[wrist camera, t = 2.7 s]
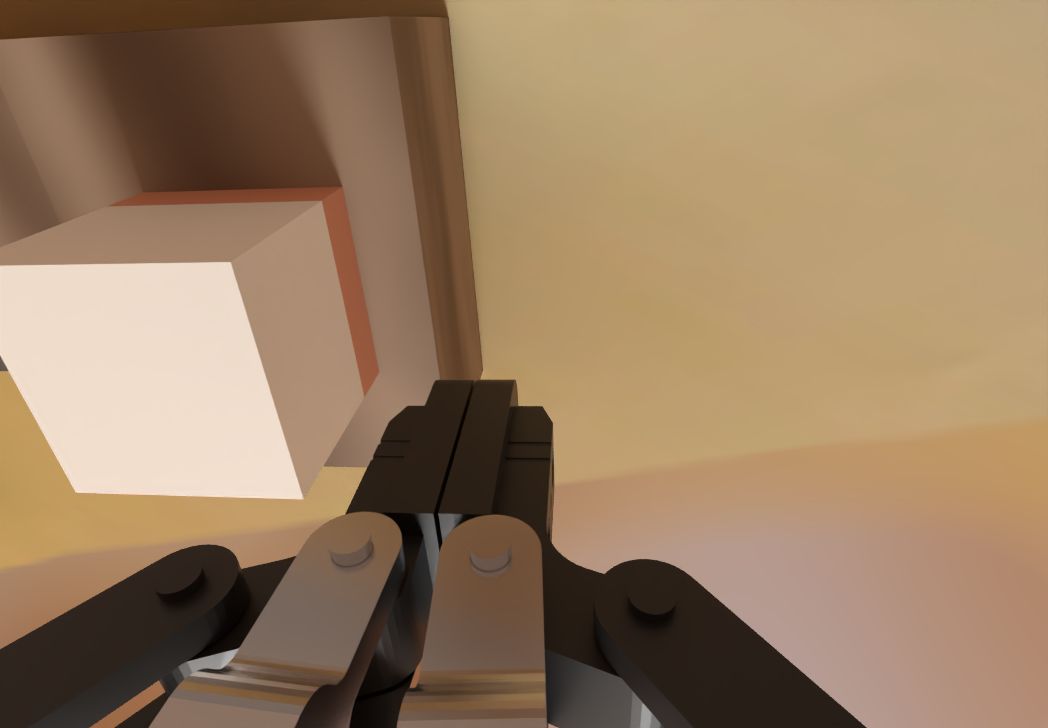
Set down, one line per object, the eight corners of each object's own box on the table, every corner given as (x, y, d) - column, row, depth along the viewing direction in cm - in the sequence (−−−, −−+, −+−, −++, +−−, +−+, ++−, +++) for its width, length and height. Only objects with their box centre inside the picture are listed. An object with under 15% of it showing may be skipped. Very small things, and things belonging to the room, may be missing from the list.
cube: (342, 186, 17) (230, 262, 11) (379, 372, 20) (303, 499, 14) (142, 192, 17) (-49, 266, 12) (207, 371, 20) (76, 492, 15)
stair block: (448, 17, 20) (389, 16, 14) (482, 370, 27) (452, 469, 21) (-251, 59, 23) (-543, 72, 17) (-61, 367, 30) (-222, 453, 24)
